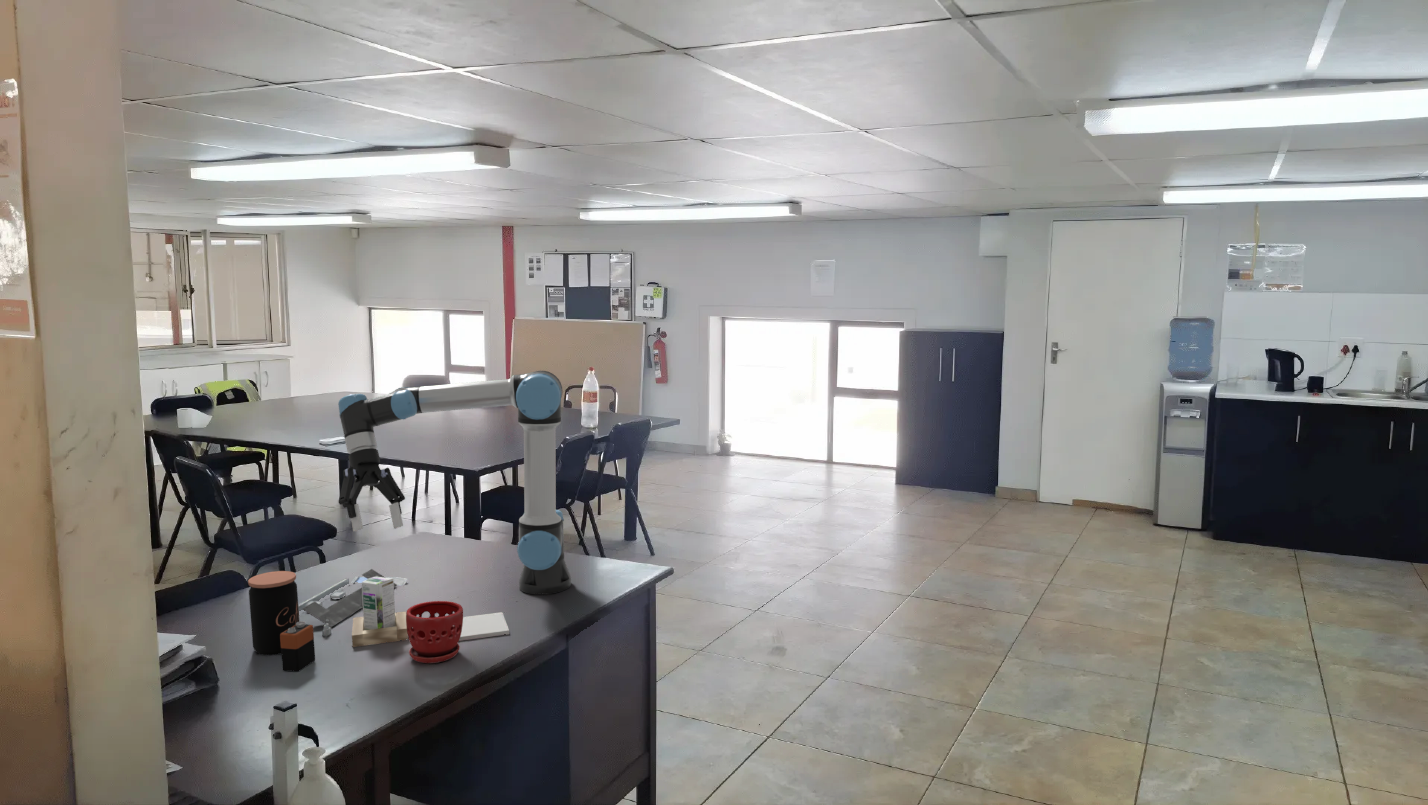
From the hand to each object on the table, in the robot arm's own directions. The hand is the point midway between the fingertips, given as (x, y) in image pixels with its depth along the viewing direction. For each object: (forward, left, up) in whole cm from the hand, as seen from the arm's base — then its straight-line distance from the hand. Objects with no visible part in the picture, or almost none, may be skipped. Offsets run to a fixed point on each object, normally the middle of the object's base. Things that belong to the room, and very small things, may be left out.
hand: (378, 528), depth 237 cm
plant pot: (-12, +27, -26) cm, 39 cm away
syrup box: (+1, +7, -26) cm, 27 cm away
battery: (+19, +21, -26) cm, 39 cm away
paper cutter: (+11, -20, -27) cm, 35 cm away
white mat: (-23, +12, -26) cm, 37 cm away
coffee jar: (+25, +7, -26) cm, 37 cm away
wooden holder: (+1, +7, -26) cm, 27 cm away
